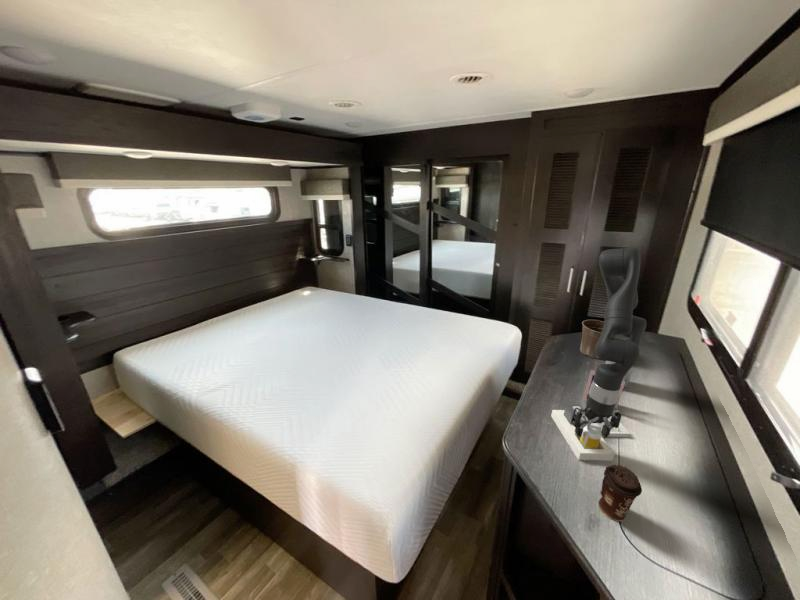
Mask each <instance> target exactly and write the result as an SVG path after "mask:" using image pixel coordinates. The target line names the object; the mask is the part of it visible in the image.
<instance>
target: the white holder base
mask: <svg viewBox="0 0 800 600" xmlns="http://www.w3.org/2000/svg"><path fill="white" fill-rule="evenodd" d="M575 408H578V409H579V410H584V409H585V408H583V406H582V405H581V404H580V403H566V404H565V407H564V409H552V411H551V419H552V420H553V421H554V423H555V424H556V426H557V428H558V429H559V431H560V432H561V435H562V436H563V438H564V439H565V441H566V442H567V444H568V445H570V446H569V448H570V449H571V451H572V452H573V454H574V455H575V457H576V458H577V460H578V461H611V462H612V461H613V459H614V457H615V455H616V454H615V452H614V451H613V450H612V448H611V447H610V446H609V444H608V443H607V442H606V440H605V439H604V437H603V436H601V439H600V442H599V445H598V448H597V449H584V447H583V446H582V445H581V443H580V442H579V440H580V437H578V436H577V434H576V433H575V428H576V427H574V425H573V423H572V422H571V419H572V416H573V413H574V410H575ZM585 419H586V421H588V419H587V417H586V418H585ZM582 423H583V422H582ZM582 423H581V424H582Z"/></svg>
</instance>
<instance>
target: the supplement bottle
mask: <svg viewBox="0 0 800 600" xmlns="http://www.w3.org/2000/svg"><path fill="white" fill-rule="evenodd" d="M601 431H602V427H601V425H600V424H599V423H592V424H590V425H589V426H585V427H584V428H583V432H582V436H581V437H580V440H579V442H580V443H581V445H582V446H583V447H584V449H597V448H598V445H599V442H600V439H601V437H602V436H601V433H600V432H601Z"/></svg>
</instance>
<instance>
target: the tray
mask: <svg viewBox="0 0 800 600" xmlns="http://www.w3.org/2000/svg"><path fill="white" fill-rule="evenodd" d="M609 419H611V417H610V418H609ZM617 429H619V430H620V431H610V433H609V435H608V436H607V437H606V438H608V437H609V438H610V437H612V438H613V437H614V438H615V437H616V438H617V437H618V438H629V437H630V435H631V433H630V432H629V430H628V429H626V427H625V426H624V425H623V424H622V423H621V422H620V424H619V427H618V428H617ZM600 433H601V432H600ZM601 437H604V436H603V435H602V434H601Z"/></svg>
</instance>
